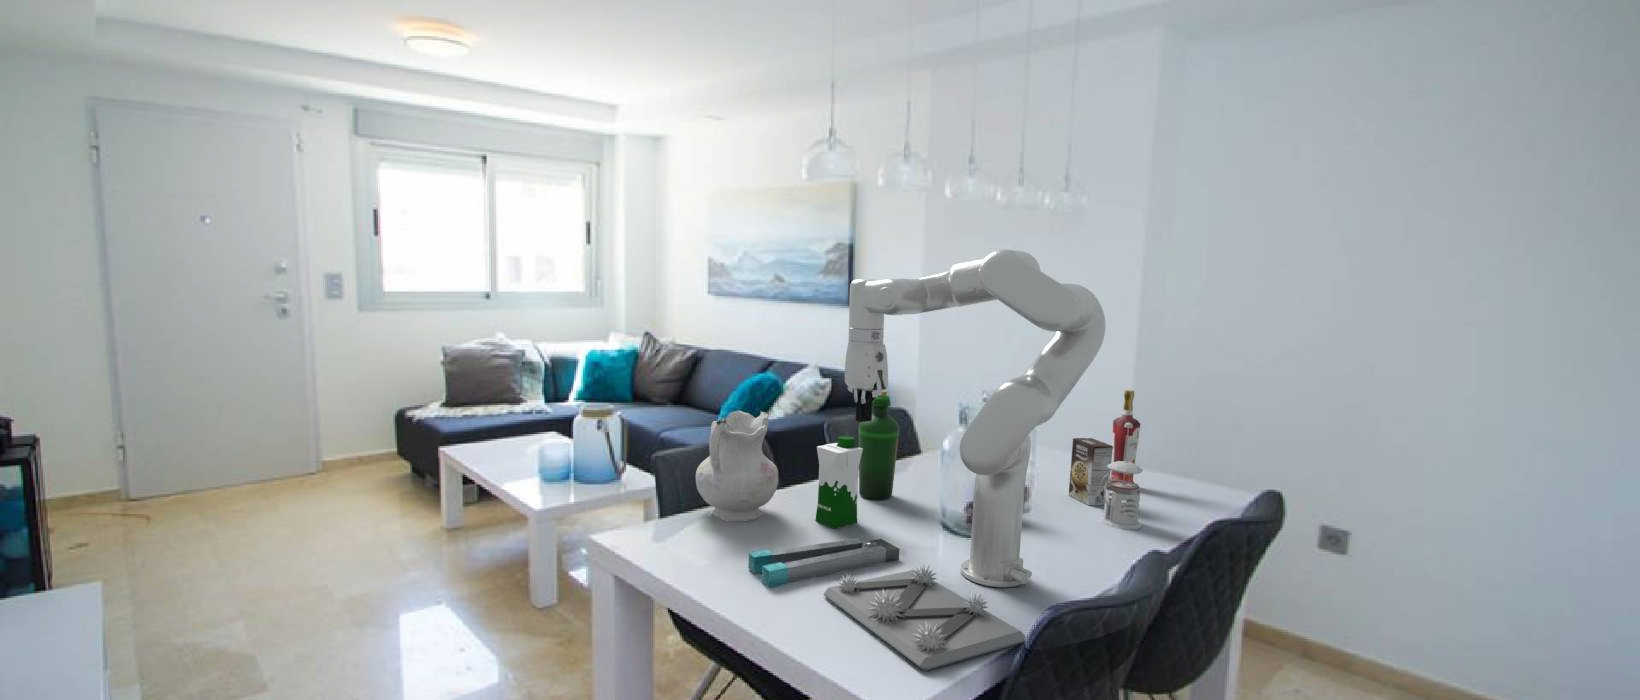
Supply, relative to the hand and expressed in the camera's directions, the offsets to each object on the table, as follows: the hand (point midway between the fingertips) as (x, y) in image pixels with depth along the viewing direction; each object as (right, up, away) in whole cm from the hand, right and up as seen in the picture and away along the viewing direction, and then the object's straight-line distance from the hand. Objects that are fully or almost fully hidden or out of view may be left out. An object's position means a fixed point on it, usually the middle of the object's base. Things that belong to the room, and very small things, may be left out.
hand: (863, 420), depth 165 cm
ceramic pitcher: (-30, -24, +15) cm, 41 cm away
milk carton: (-6, -25, +13) cm, 29 cm away
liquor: (+78, -24, +55) cm, 98 cm away
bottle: (+5, -23, +35) cm, 42 cm away
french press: (+63, -27, +21) cm, 72 cm away
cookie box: (+63, -25, +40) cm, 78 cm away
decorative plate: (+7, -31, -35) cm, 48 cm away
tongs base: (-8, -28, -14) cm, 32 cm away
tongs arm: (-10, -27, -13) cm, 32 cm away
